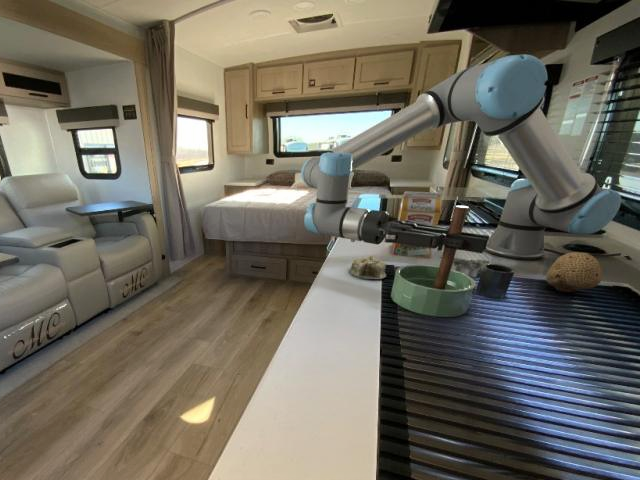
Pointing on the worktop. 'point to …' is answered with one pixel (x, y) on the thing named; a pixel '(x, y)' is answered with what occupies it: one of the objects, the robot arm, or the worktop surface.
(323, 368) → the worktop surface
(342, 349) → the worktop surface
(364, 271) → the cake
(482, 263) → the egg carton
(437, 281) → the stick
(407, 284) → the bowl
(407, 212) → the yellow food carton
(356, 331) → the worktop surface
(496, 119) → the robot arm
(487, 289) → the utensil cup
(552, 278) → the natural sponge
